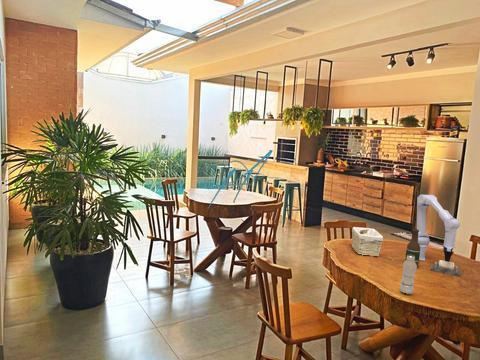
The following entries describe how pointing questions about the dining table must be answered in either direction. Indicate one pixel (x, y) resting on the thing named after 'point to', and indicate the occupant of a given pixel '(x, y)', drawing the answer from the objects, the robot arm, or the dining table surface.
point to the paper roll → (446, 265)
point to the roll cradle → (446, 270)
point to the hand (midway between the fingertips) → (446, 259)
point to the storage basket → (366, 241)
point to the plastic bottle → (408, 275)
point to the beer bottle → (414, 247)
